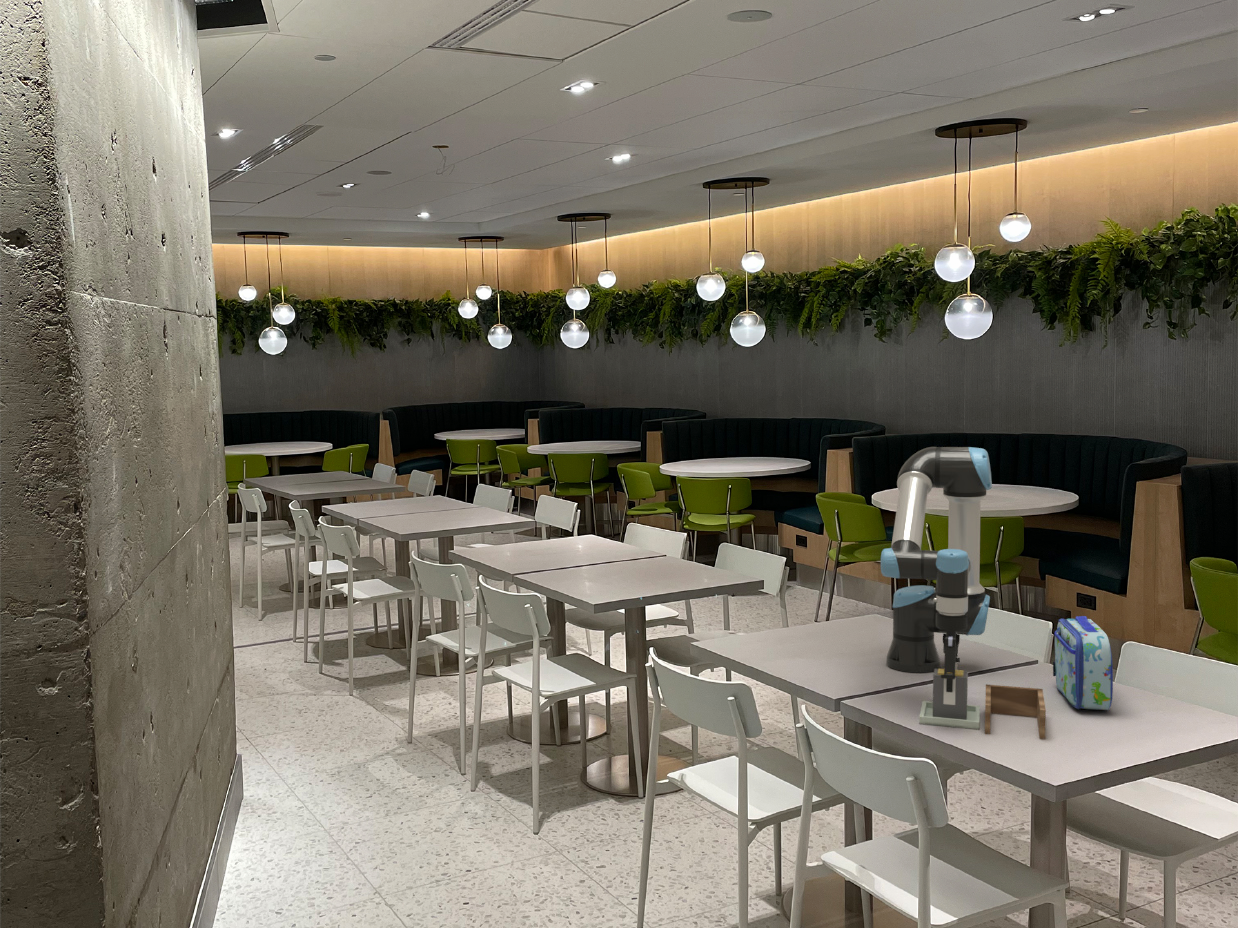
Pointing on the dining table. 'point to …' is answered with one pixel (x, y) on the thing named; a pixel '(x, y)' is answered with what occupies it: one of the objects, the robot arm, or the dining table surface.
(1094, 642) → the lunch box
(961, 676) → the grey box yellow panel
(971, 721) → the tray
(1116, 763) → the dining table surface
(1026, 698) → the bay
